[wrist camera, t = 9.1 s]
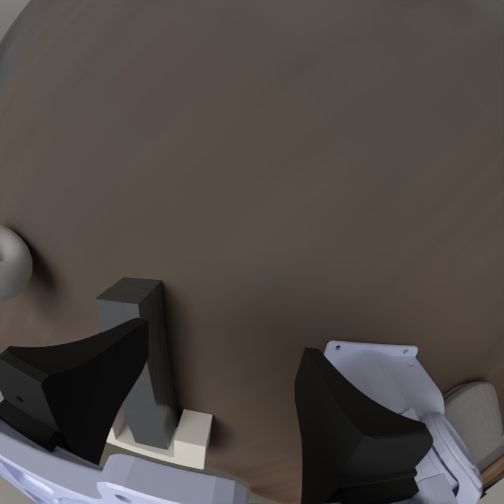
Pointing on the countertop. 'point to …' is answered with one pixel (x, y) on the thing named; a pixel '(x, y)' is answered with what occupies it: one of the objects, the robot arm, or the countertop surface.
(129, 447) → the cream u-shaped cradle
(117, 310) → the rail
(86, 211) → the countertop surface
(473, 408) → the coffee pot
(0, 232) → the donut
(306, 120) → the countertop surface
